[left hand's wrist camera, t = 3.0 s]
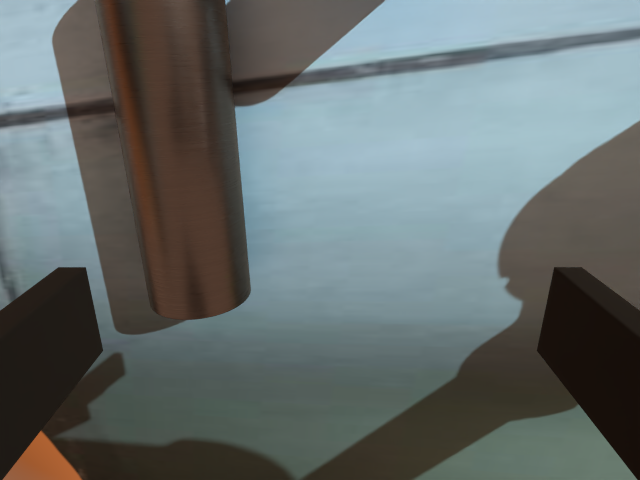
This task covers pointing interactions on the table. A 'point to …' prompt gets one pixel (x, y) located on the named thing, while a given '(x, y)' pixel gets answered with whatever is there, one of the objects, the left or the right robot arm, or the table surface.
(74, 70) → the table surface
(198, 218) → the rod
